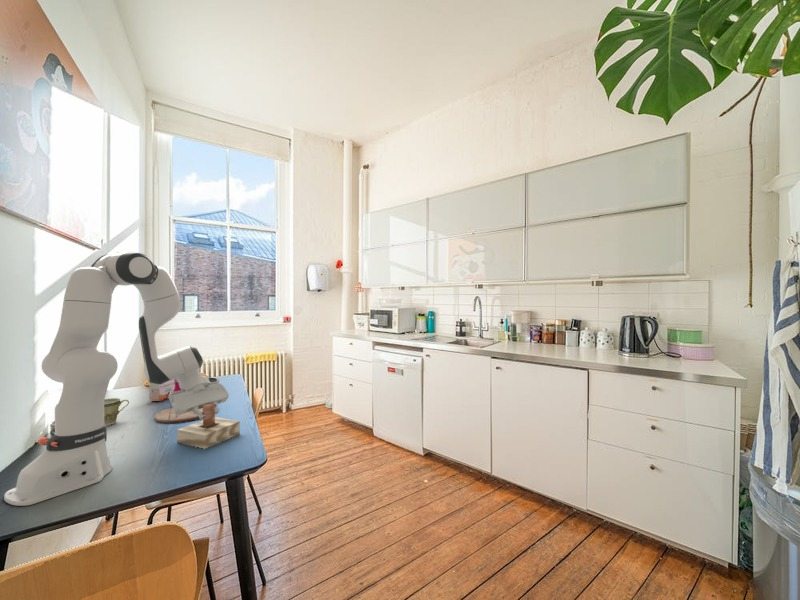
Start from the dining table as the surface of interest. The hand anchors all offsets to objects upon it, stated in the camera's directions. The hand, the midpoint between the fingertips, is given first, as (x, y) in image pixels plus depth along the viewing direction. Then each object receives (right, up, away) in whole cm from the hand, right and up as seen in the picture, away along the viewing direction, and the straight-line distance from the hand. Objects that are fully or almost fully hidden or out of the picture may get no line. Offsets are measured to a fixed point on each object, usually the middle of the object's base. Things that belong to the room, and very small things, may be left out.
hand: (209, 415), depth 132 cm
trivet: (-27, -10, +30) cm, 42 cm away
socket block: (0, -9, 0) cm, 9 cm away
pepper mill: (-41, -10, +46) cm, 63 cm away
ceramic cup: (-54, -10, +19) cm, 59 cm away
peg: (0, -6, 0) cm, 6 cm away
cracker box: (-58, -10, +58) cm, 83 cm away
